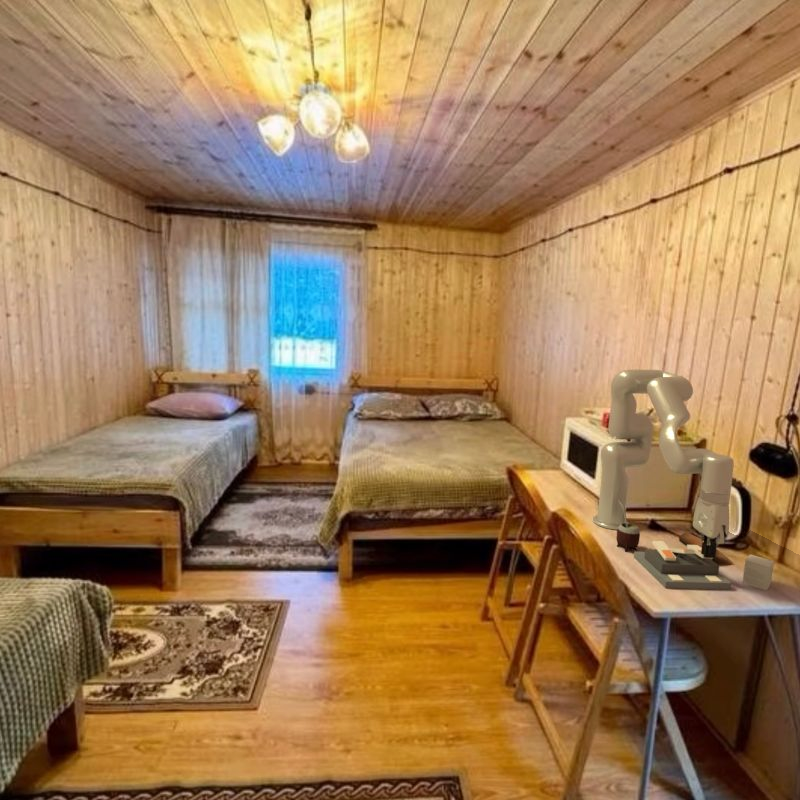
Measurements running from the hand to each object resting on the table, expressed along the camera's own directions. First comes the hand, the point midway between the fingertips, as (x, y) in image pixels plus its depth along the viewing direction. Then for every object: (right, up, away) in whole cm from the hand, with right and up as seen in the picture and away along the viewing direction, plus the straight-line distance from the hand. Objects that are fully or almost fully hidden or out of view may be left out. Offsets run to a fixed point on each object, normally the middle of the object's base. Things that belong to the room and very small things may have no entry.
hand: (708, 556), depth 147 cm
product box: (+14, -8, 0) cm, 16 cm away
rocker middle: (-6, -1, +3) cm, 7 cm away
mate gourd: (-15, -4, +21) cm, 26 cm away
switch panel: (-6, -6, +5) cm, 10 cm away
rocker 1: (-11, -1, +4) cm, 12 cm away
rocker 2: (0, -1, +4) cm, 4 cm away
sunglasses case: (+11, -6, +19) cm, 23 cm away
